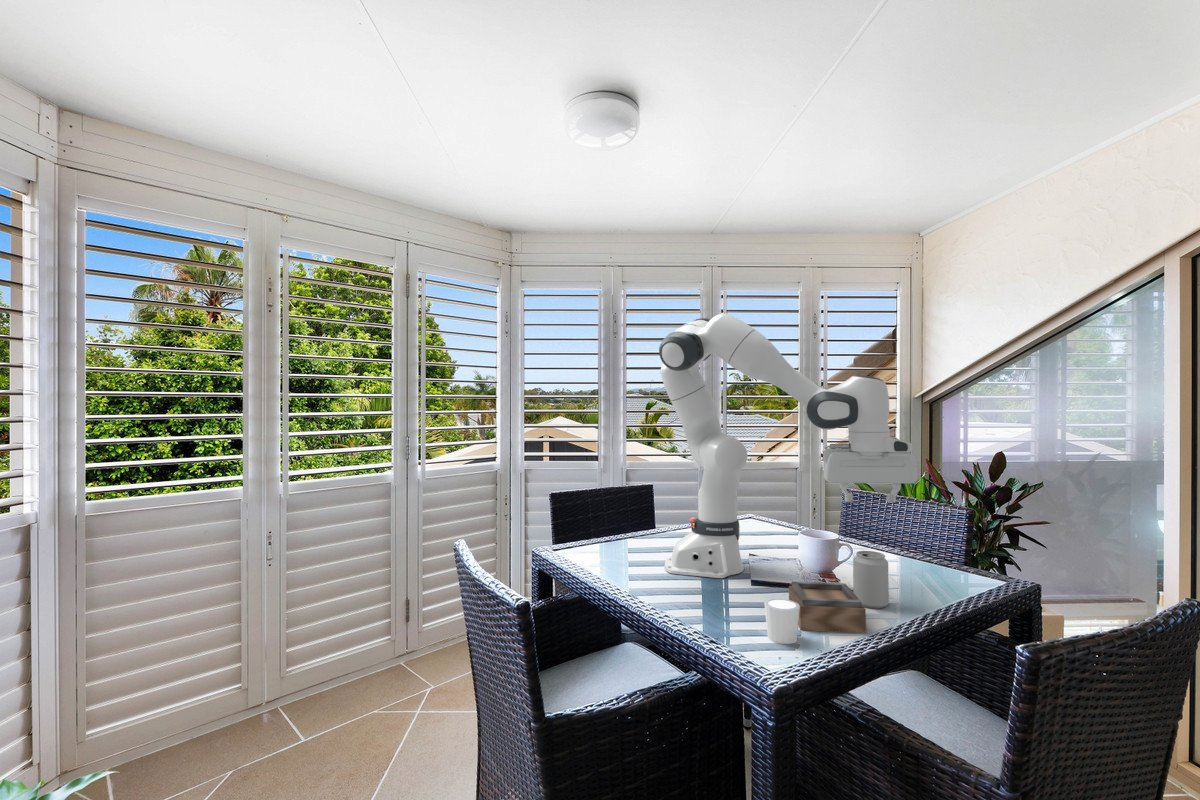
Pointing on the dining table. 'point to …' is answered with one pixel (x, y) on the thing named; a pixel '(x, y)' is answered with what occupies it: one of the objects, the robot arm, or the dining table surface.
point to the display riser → (828, 607)
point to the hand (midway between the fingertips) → (869, 502)
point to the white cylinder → (782, 620)
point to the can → (871, 579)
